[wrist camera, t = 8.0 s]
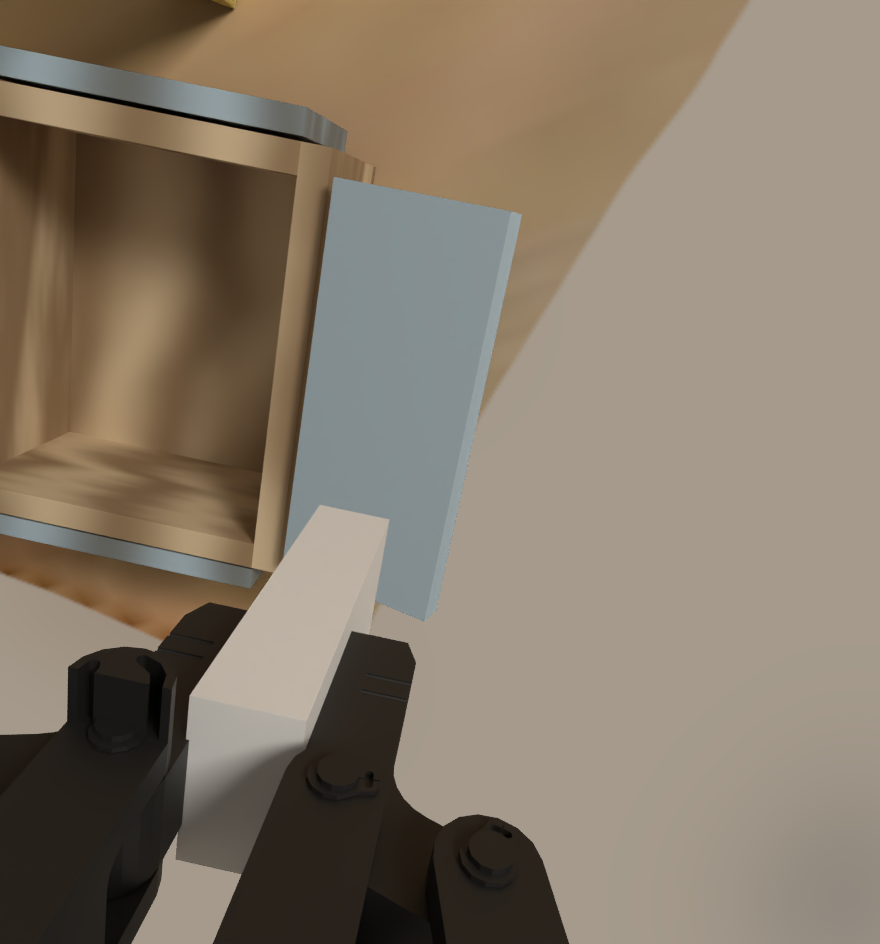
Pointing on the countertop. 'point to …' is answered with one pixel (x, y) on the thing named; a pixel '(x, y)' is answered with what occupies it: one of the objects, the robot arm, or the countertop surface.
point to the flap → (400, 372)
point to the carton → (156, 312)
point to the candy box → (227, 3)
